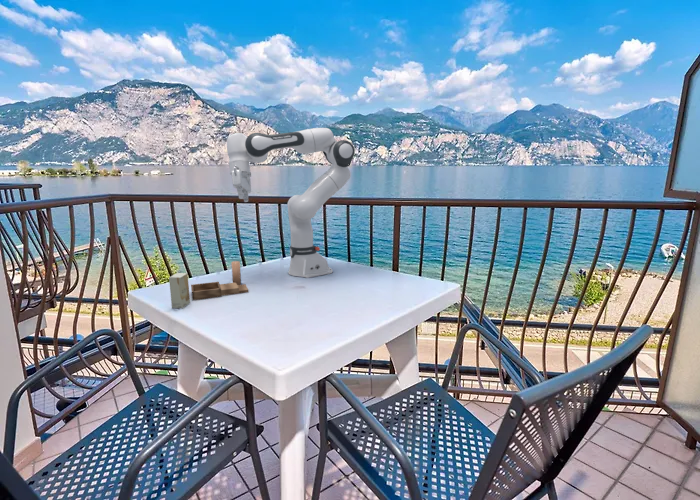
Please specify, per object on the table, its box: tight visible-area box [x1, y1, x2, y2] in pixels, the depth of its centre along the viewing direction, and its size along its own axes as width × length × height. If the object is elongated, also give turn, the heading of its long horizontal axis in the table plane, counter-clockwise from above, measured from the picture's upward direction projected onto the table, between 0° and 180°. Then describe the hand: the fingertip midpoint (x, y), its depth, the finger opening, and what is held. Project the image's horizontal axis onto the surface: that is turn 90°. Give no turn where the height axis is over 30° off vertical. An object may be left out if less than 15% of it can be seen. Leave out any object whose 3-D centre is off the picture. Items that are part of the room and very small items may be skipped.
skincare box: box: [168, 272, 191, 309], centre depth 133 cm, size 6×4×12 cm
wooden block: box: [230, 260, 242, 285], centre depth 159 cm, size 4×4×10 cm
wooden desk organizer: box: [190, 281, 250, 301], centre depth 148 cm, size 22×10×4 cm, turn 115°
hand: (243, 200), depth 159 cm, fingers open, 8 cm apart
